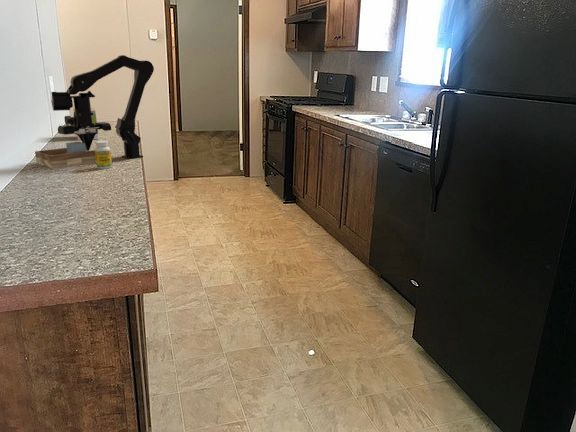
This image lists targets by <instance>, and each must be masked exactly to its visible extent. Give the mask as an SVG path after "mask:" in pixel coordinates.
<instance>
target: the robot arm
mask: <svg viewBox="0 0 576 432" xmlns="http://www.w3.org/2000/svg"><path fill="white" fill-rule="evenodd" d="M123 67H124V68H127V69H130V70H132V71H134V72H133V77H134V78H133V85H132V87H131V88H132V89H131V91H130V95H129V98H128V101H127V104H126V108H125V111H124V114H123V116H122V117H121V118H119V117H118V118H117V121H116V124H115V126H114V128H115V132H116V135H117V136H118V137H119V138H121V139H122V141H123V150H124V155H121V158H125V159H128V160H131V159H137V158H144V155H142V154H140V153H141V152H140V142H141V139H142V138H141V137H140V136H139V135H138V134H137V133H135V131H136V117H137V113H138V110H139V106H140V104H141V100H142V97H143V95H144V90H145V86H146V85H147V83H148V82H149V80H150V79H151V77H152V75H153V73H154V70H155V67H154V65H153V63H152V62H151V61H149V60H139V59H135V58H133V57H132V58H131V57H130V56H127V55H124V54H122V55H118V56H117V57H116V58H113V59H112V60H110V61H108V62H106V63H104V64H103V65H102V64H101V66H98V67H96V68H95V69H92V70H90V71H86V72H82V73H79V74H76V75H74V76H72V77H71V78H70V85H69V86H68V88H67V90H66V91H50V94H51V100H50V101H51V107H52V111H53V112H54V111H56V112H57V111H58V112H59V111H70V110H71V108H73V107H74V108H75V112H74V111H73V116H72V115H65V116H63V118H64V124H65V125H63V124H62V125H59V126H58V127H57V133H58V134H60V135H65V136H66V135H76V136H77V135H78V136H79V138H80V139H81V140H80V142H82V143H85V148H86V150H87V151H91V147H92V143H93V141H94V140H93V139H94V137H95V135H96V134H98V135H99V131H98V132H96V129H98V130H103V131H104V132H106V131H107V132H108V131H112V126H111V123H110V122H104V121H102V122H97V123H95V125H94V123H92V115H93V113H92V112H91V108H92V107H91V98H96V95H95V94H94V93H93V92H91V90H89V89H90V88H92V86H93V85H94V84H95V83H97V82H98V81H99V80H101V79H103V78H105V77H106V76H108V75H110V74H112V73H114V72H117V71H118V70H120V69H122V68H123ZM87 90H88V91H87ZM86 91H87V92H86ZM77 94H78V95H77ZM74 108H73V109H74Z"/></svg>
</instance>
